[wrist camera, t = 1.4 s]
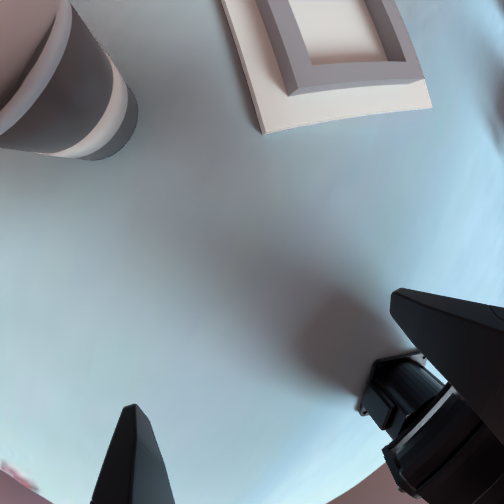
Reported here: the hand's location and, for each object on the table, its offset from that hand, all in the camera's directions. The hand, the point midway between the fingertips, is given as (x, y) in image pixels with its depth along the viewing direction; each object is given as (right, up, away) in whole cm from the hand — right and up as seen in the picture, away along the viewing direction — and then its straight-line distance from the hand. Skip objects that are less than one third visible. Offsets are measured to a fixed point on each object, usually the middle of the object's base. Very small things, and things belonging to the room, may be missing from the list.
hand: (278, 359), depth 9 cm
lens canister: (-11, +12, +7) cm, 17 cm away
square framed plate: (+5, +19, +9) cm, 21 cm away
